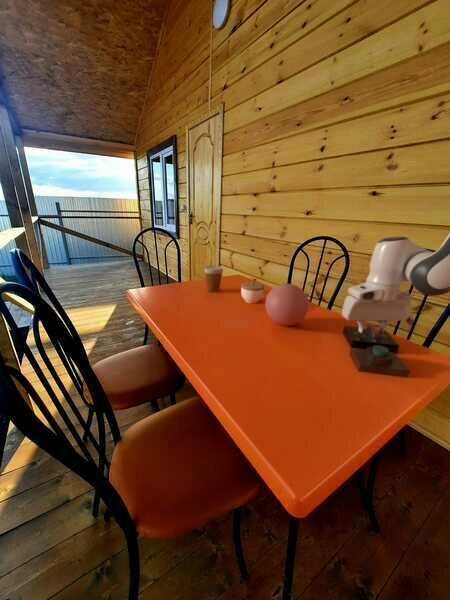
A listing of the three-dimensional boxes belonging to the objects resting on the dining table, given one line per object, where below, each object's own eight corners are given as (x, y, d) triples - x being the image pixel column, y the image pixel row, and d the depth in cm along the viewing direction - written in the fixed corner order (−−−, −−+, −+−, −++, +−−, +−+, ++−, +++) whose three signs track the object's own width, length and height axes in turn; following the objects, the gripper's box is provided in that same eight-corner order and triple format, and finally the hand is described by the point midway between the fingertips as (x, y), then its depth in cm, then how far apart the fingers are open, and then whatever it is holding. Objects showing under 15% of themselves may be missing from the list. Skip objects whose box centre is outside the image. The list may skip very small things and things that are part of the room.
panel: (382, 337, 87) (384, 329, 86) (396, 354, 77) (399, 345, 76) (342, 333, 89) (344, 325, 88) (351, 348, 79) (353, 339, 78)
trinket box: (263, 298, 123) (264, 279, 120) (262, 305, 113) (264, 285, 110) (241, 296, 125) (242, 277, 121) (239, 303, 115) (240, 283, 111)
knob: (362, 330, 85) (365, 319, 83) (367, 330, 85) (369, 319, 83) (372, 338, 80) (375, 326, 78) (377, 338, 80) (380, 326, 78)
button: (383, 351, 71) (385, 345, 71) (389, 358, 68) (390, 352, 67) (370, 349, 72) (371, 344, 71) (374, 356, 68) (376, 350, 68)
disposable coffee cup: (223, 288, 136) (224, 266, 132) (220, 293, 128) (221, 270, 124) (206, 287, 138) (206, 265, 134) (202, 292, 129) (202, 269, 125)
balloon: (322, 324, 96) (329, 285, 91) (284, 336, 85) (289, 293, 80) (291, 311, 108) (296, 276, 103) (255, 320, 98) (258, 281, 92)
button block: (392, 359, 74) (396, 347, 73) (407, 377, 66) (411, 364, 65) (349, 354, 76) (351, 342, 75) (358, 371, 68) (361, 358, 67)
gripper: (405, 288, 81) (394, 327, 86) (343, 287, 80) (335, 327, 84) (420, 294, 75) (408, 336, 80) (354, 294, 74) (345, 336, 78)
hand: (370, 332), depth 82 cm, fingers open, 5 cm apart
